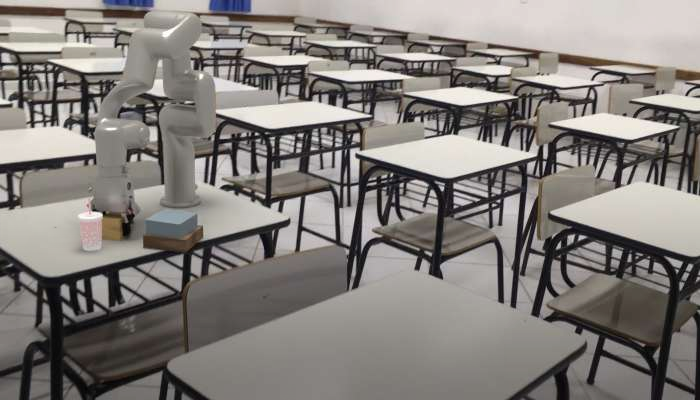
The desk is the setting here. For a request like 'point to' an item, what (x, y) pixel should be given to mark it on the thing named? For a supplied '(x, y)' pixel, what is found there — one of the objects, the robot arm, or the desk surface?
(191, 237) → the tower base
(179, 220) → the tower top
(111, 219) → the ochre cube
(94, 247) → the beverage cup
